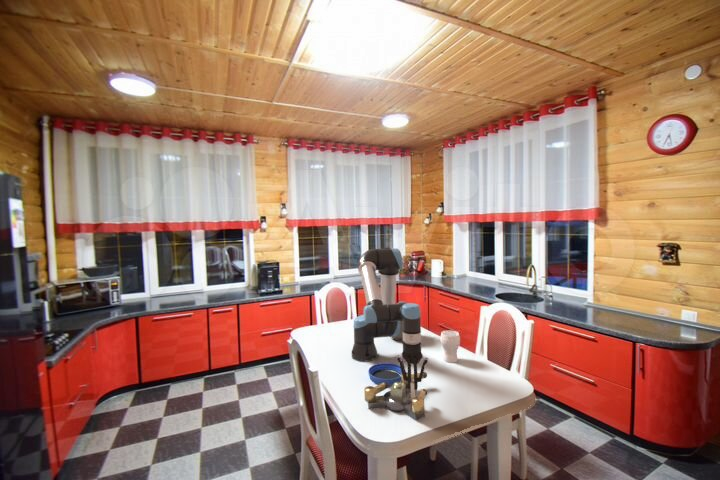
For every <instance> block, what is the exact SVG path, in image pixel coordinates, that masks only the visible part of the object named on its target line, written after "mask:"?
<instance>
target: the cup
mask: <svg viewBox="0 0 720 480" xmlns="http://www.w3.org/2000/svg"><path fill="white" fill-rule="evenodd" d="M440 333H441V334H440V337H439V338H440V340H439V341H440V344H441V346H442V348H443V358H442V359H443V361H445V362H447V363H453V364H454V363H458V361H459V359H458V349H459V348H460V344H461V336H460V332H458V331H454V330H443V331H441V332H440Z"/></svg>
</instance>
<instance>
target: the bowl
mask: <svg viewBox="0 0 720 480" xmlns="http://www.w3.org/2000/svg"><path fill="white" fill-rule="evenodd" d="M401 374H402V372H401V368H400V364H399V365H398V364H396V363H390V362H382V363H376V364H373V365H372V366H370V367H369V368H368V376H369V379H370V381H372V382H373V383H375V384H377V385H379V384H381V383H383V382H387V383H388V386H392V385H393V384H394V382H401Z"/></svg>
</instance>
